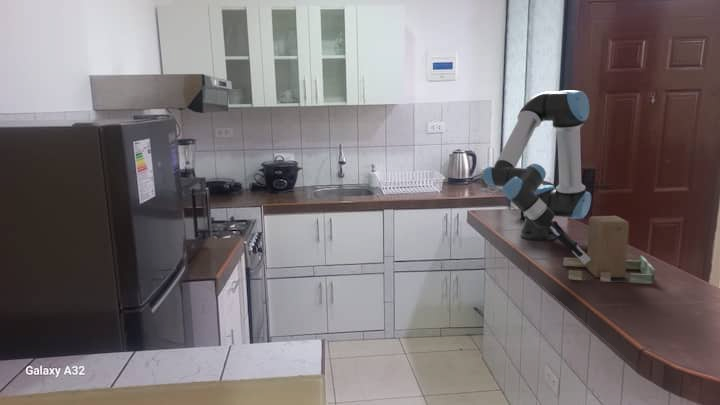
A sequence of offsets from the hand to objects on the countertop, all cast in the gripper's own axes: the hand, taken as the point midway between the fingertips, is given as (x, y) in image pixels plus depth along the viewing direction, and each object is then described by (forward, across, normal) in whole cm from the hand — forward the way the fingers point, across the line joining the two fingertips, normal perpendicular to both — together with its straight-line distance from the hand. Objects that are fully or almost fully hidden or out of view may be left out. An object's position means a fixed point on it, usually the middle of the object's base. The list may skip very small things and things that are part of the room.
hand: (587, 261), depth 171 cm
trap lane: (+8, -1, +1) cm, 8 cm away
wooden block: (+8, -1, +1) cm, 8 cm away
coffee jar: (-7, -83, -14) cm, 84 cm away
